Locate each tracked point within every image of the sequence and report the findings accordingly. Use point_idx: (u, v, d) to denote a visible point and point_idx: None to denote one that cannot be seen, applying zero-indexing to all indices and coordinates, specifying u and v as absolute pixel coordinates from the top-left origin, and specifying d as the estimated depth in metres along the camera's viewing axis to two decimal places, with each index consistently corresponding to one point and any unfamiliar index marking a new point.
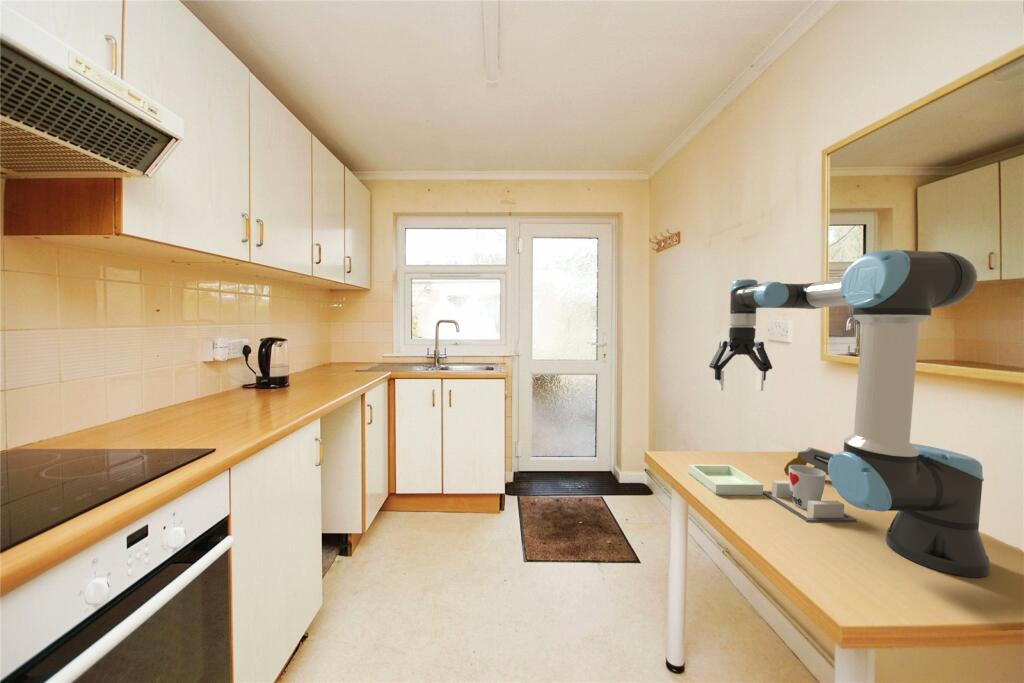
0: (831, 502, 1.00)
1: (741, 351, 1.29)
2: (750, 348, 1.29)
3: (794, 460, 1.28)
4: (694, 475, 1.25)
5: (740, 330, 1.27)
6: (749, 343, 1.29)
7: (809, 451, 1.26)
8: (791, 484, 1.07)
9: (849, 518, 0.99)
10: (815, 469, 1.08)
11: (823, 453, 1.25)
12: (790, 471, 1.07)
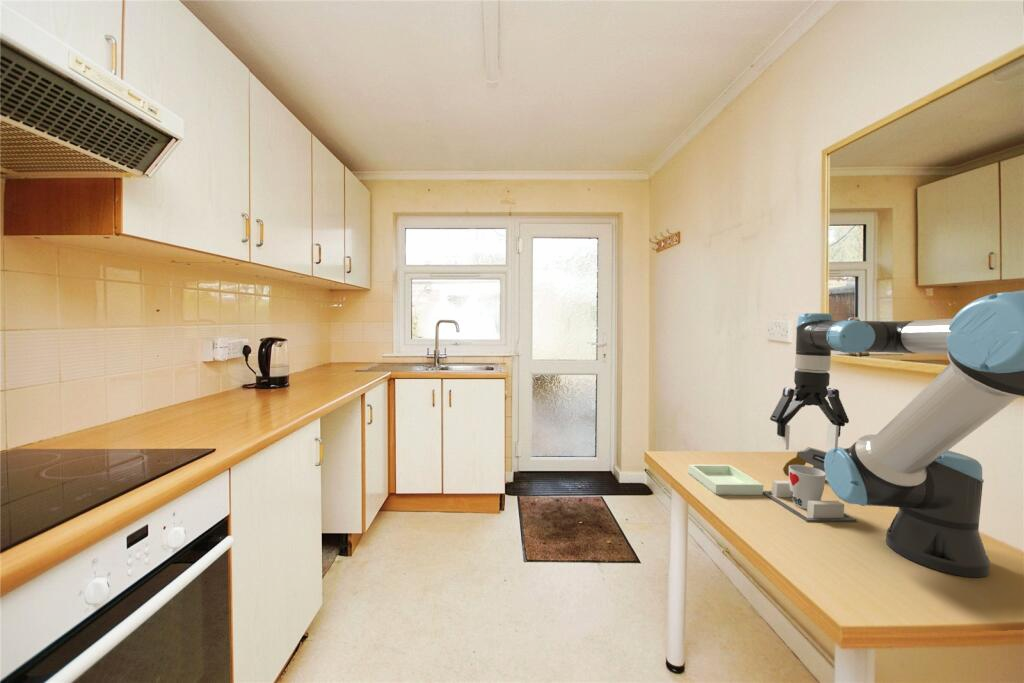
0: (831, 502, 1.00)
1: (811, 400, 1.04)
2: (822, 398, 1.04)
3: (793, 460, 1.28)
4: (694, 475, 1.25)
5: (811, 376, 1.02)
6: (821, 391, 1.04)
7: (808, 451, 1.26)
8: (791, 484, 1.07)
9: (849, 518, 0.99)
10: (815, 469, 1.08)
11: (822, 453, 1.25)
12: (790, 471, 1.07)
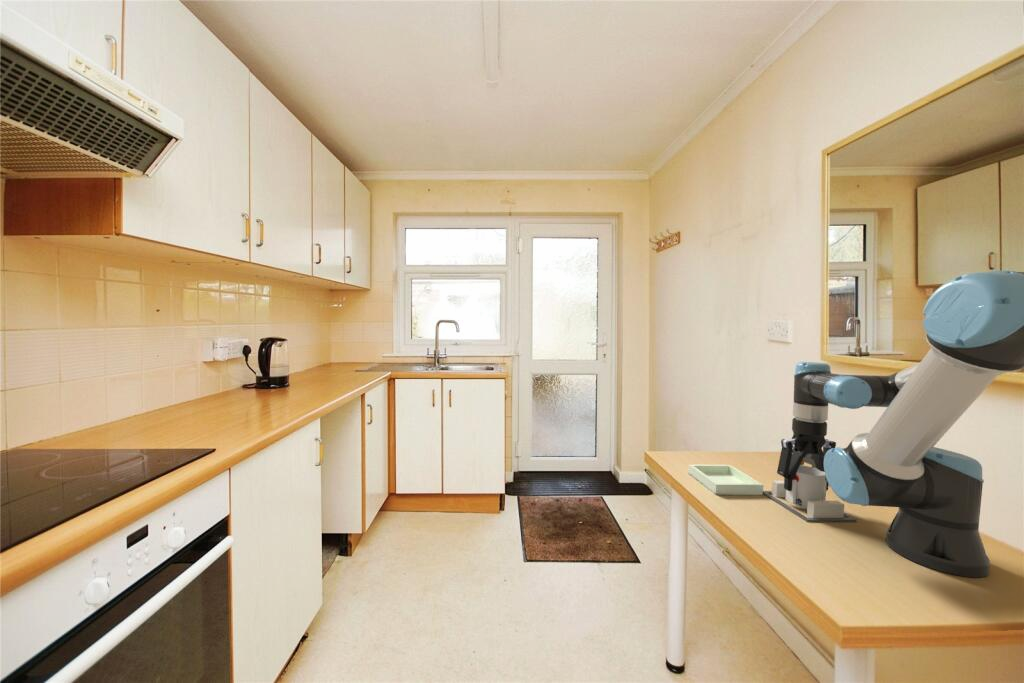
0: (831, 502, 1.00)
1: (809, 449, 1.05)
2: (820, 447, 1.04)
3: None
4: (694, 475, 1.25)
5: (809, 426, 1.03)
6: (818, 440, 1.05)
7: None
8: None
9: (849, 518, 0.99)
10: (815, 469, 1.08)
11: None
12: None
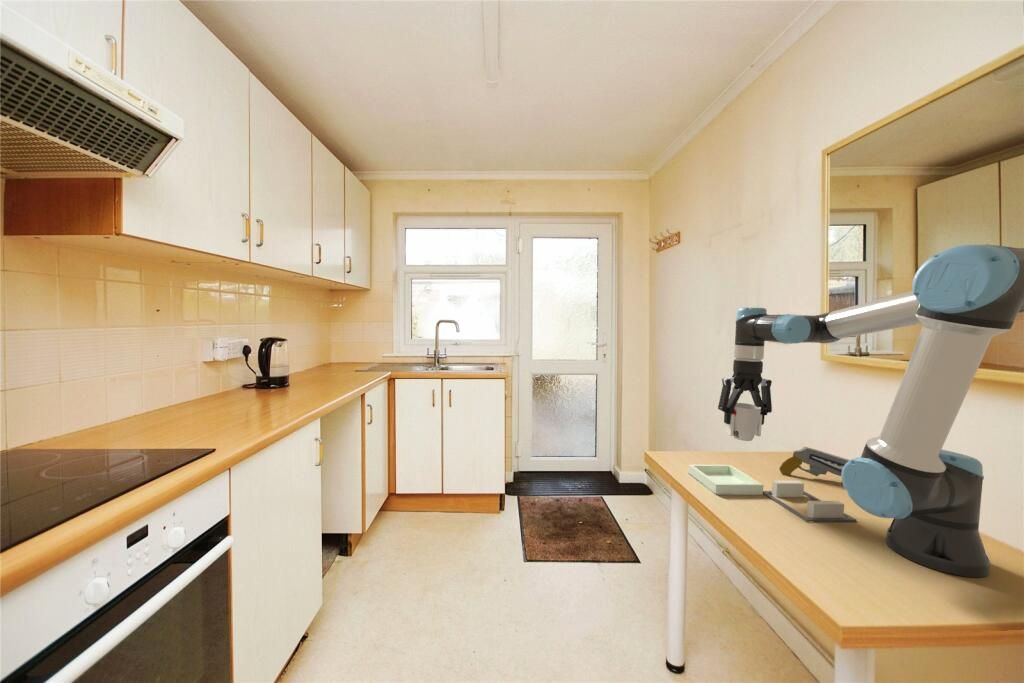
0: (831, 502, 1.00)
1: (746, 386, 1.16)
2: (756, 384, 1.15)
3: (789, 459, 1.29)
4: (694, 475, 1.25)
5: (745, 364, 1.13)
6: (755, 378, 1.15)
7: (804, 450, 1.27)
8: None
9: (849, 518, 0.99)
10: (753, 406, 1.19)
11: (818, 452, 1.25)
12: None
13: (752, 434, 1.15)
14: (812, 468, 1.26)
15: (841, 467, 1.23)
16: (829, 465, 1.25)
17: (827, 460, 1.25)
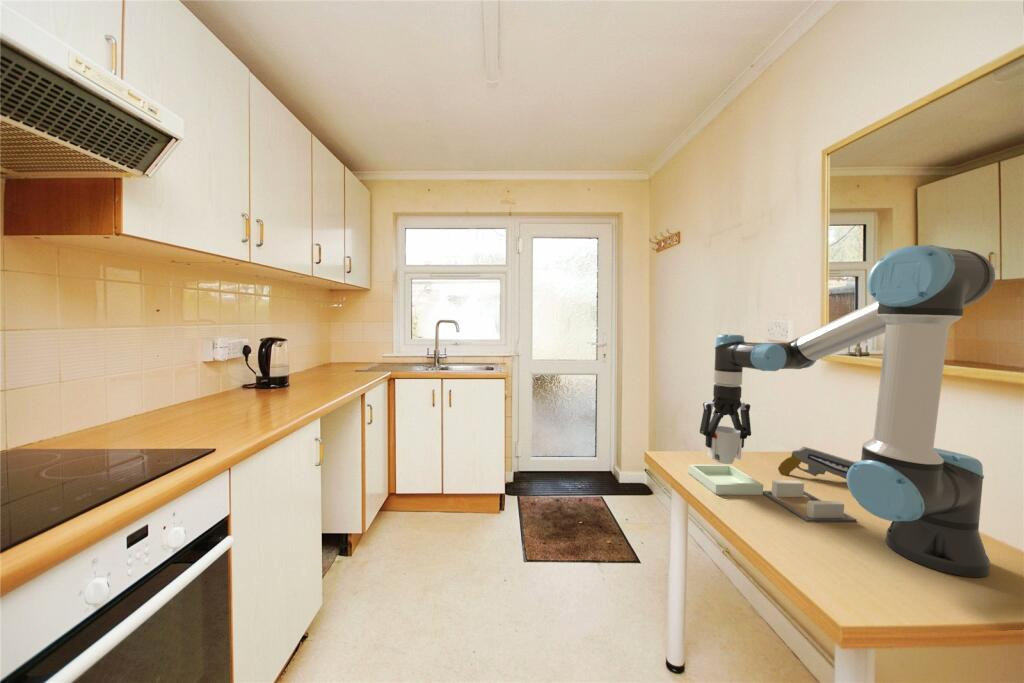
0: (831, 502, 1.00)
1: (726, 411, 1.19)
2: (736, 408, 1.18)
3: (788, 459, 1.29)
4: (694, 475, 1.25)
5: (725, 390, 1.17)
6: (735, 403, 1.19)
7: (803, 450, 1.27)
8: None
9: (849, 518, 0.99)
10: (733, 429, 1.22)
11: (817, 452, 1.25)
12: None
13: (732, 457, 1.18)
14: (811, 468, 1.26)
15: (839, 467, 1.24)
16: (828, 465, 1.25)
17: (826, 460, 1.25)
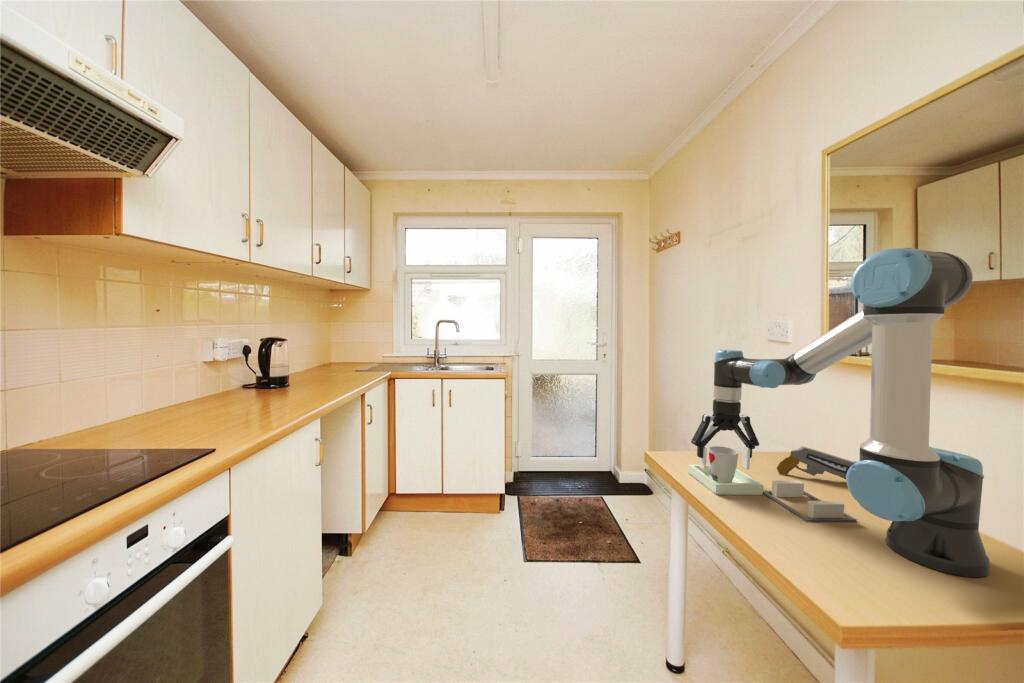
0: (831, 502, 1.00)
1: (725, 426, 1.19)
2: (735, 424, 1.19)
3: (787, 459, 1.29)
4: (694, 475, 1.25)
5: (724, 405, 1.17)
6: (734, 418, 1.19)
7: (801, 450, 1.27)
8: (709, 462, 1.21)
9: (849, 518, 0.99)
10: (731, 449, 1.22)
11: (815, 452, 1.25)
12: (709, 451, 1.21)
13: (730, 478, 1.18)
14: (809, 468, 1.26)
15: (838, 467, 1.24)
16: (826, 465, 1.25)
17: (824, 460, 1.25)
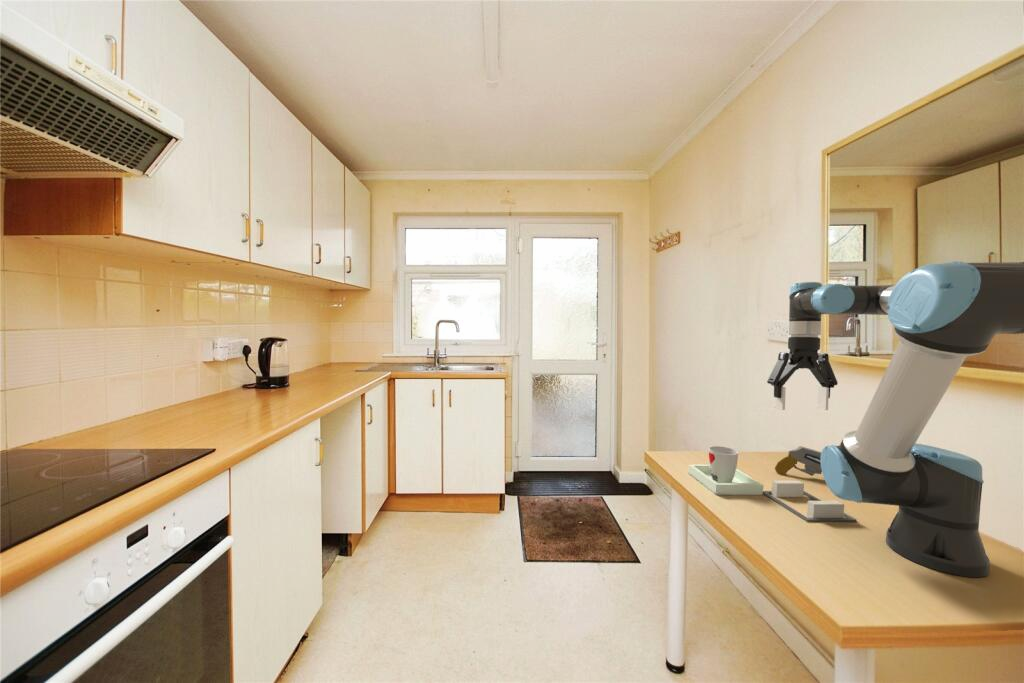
0: (831, 502, 1.00)
1: (804, 364, 1.12)
2: (814, 361, 1.12)
3: (785, 459, 1.29)
4: (694, 475, 1.25)
5: (804, 340, 1.10)
6: (812, 355, 1.12)
7: (800, 450, 1.27)
8: (709, 462, 1.21)
9: (849, 518, 0.99)
10: (731, 449, 1.22)
11: (813, 452, 1.26)
12: (709, 451, 1.21)
13: (730, 478, 1.18)
14: (807, 467, 1.27)
15: None
16: None
17: None
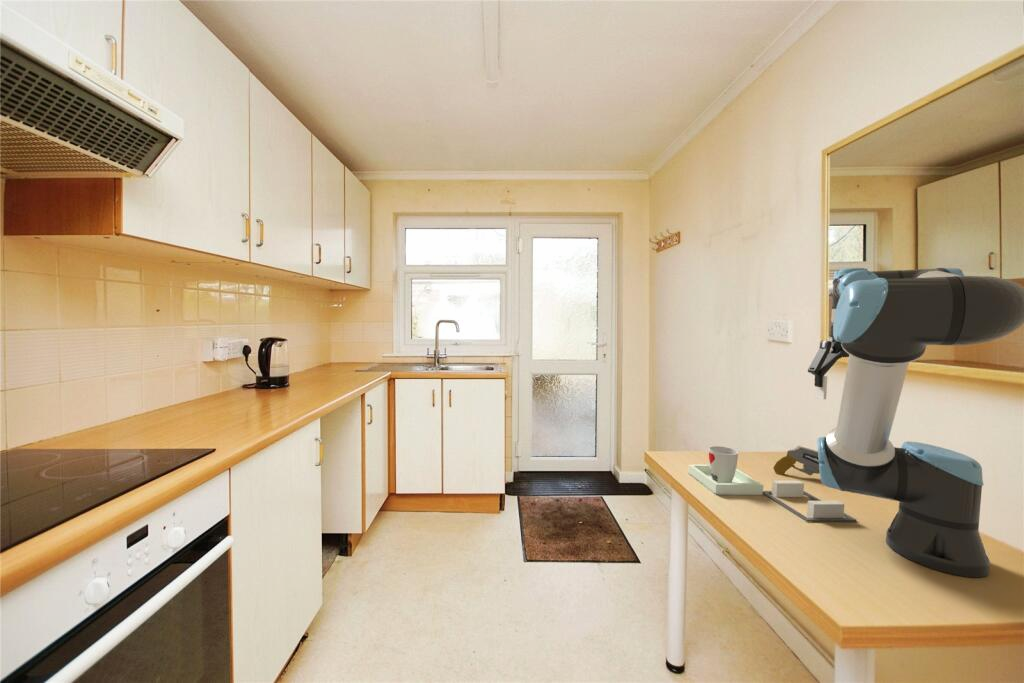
0: (831, 502, 1.00)
1: (847, 352, 1.09)
2: None
3: (783, 458, 1.29)
4: (694, 475, 1.25)
5: None
6: None
7: (798, 450, 1.27)
8: (709, 462, 1.21)
9: (849, 518, 0.99)
10: (731, 449, 1.22)
11: (812, 452, 1.26)
12: (709, 451, 1.21)
13: (730, 478, 1.18)
14: (806, 467, 1.27)
15: None
16: None
17: None
